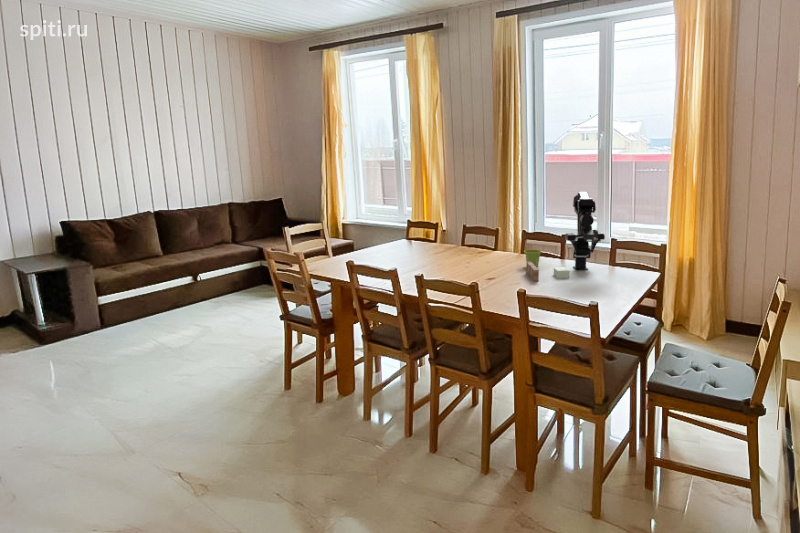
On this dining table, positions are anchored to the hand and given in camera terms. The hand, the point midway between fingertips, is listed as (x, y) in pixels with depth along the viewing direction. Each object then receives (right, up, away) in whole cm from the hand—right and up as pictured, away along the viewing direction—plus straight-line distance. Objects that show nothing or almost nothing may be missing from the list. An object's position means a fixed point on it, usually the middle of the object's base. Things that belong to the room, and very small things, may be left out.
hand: (583, 252), depth 293 cm
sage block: (-11, -12, +3) cm, 16 cm away
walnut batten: (-26, -12, +3) cm, 29 cm away
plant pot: (-20, -7, +26) cm, 34 cm away
